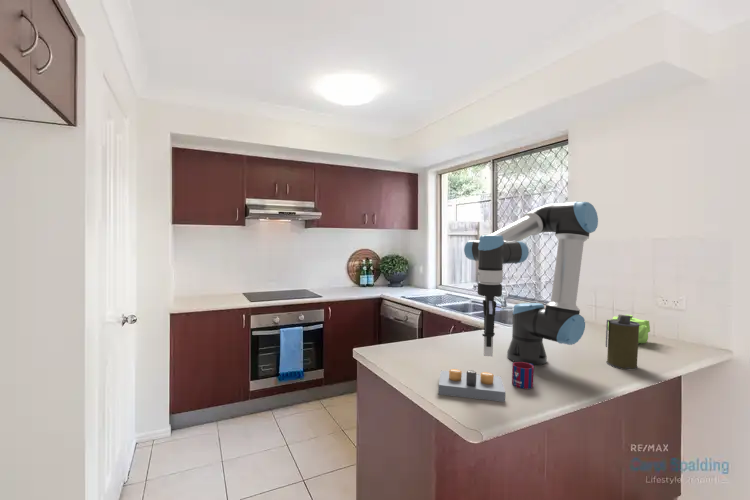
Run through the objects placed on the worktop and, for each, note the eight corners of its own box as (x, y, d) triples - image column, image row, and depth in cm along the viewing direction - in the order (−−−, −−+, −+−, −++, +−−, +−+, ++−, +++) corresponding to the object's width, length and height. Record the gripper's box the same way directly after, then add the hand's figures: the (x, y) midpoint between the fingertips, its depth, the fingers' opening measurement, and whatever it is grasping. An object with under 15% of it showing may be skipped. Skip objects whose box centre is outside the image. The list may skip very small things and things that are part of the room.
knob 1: (461, 385, 123) (461, 369, 123) (461, 390, 119) (461, 373, 119) (449, 384, 124) (449, 368, 124) (448, 388, 120) (449, 372, 120)
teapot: (665, 348, 171) (666, 320, 171) (622, 347, 172) (623, 319, 171) (637, 337, 190) (639, 312, 189) (598, 336, 190) (599, 311, 189)
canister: (632, 362, 150) (634, 314, 149) (641, 371, 140) (644, 319, 139) (602, 359, 154) (604, 311, 153) (609, 367, 144) (611, 316, 143)
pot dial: (475, 383, 118) (476, 370, 118) (476, 387, 115) (476, 373, 115) (466, 382, 119) (466, 369, 118) (466, 386, 116) (466, 373, 115)
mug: (507, 383, 126) (508, 363, 126) (526, 378, 131) (526, 359, 131) (524, 390, 120) (525, 370, 120) (543, 384, 126) (544, 365, 125)
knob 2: (492, 388, 121) (492, 372, 120) (493, 393, 117) (494, 376, 117) (479, 387, 122) (480, 371, 121) (480, 392, 118) (480, 375, 117)
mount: (500, 385, 124) (500, 376, 124) (505, 401, 112) (505, 392, 112) (440, 378, 129) (440, 370, 129) (438, 394, 116) (438, 384, 116)
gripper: (476, 280, 125) (475, 348, 126) (478, 285, 112) (476, 361, 113) (499, 280, 123) (498, 350, 124) (504, 286, 111) (502, 363, 112)
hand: (488, 355), depth 119 cm, fingers closed
